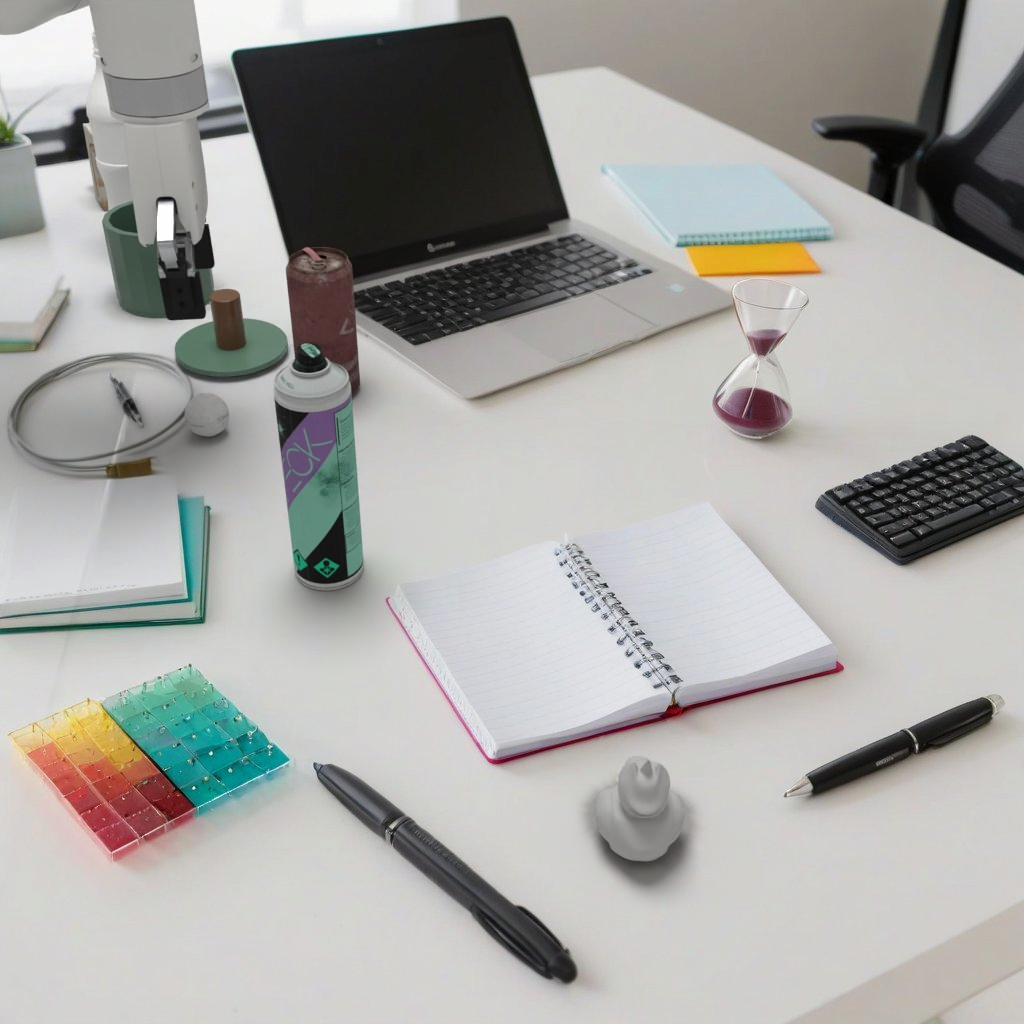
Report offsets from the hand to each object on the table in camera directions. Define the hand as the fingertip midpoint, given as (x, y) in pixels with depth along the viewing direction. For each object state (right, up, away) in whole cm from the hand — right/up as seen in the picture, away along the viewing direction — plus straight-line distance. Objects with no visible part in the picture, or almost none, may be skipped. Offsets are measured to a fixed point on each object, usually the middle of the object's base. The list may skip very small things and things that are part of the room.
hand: (192, 292), depth 100 cm
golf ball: (-1, -12, +8) cm, 14 cm away
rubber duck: (+35, -39, -27) cm, 60 cm away
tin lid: (-1, -2, +20) cm, 20 cm away
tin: (-11, +5, +30) cm, 33 cm away
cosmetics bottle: (-24, +21, +51) cm, 60 cm away
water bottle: (-17, +13, +40) cm, 45 cm away
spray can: (+13, -24, -7) cm, 28 cm away
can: (+9, -7, +15) cm, 19 cm away
